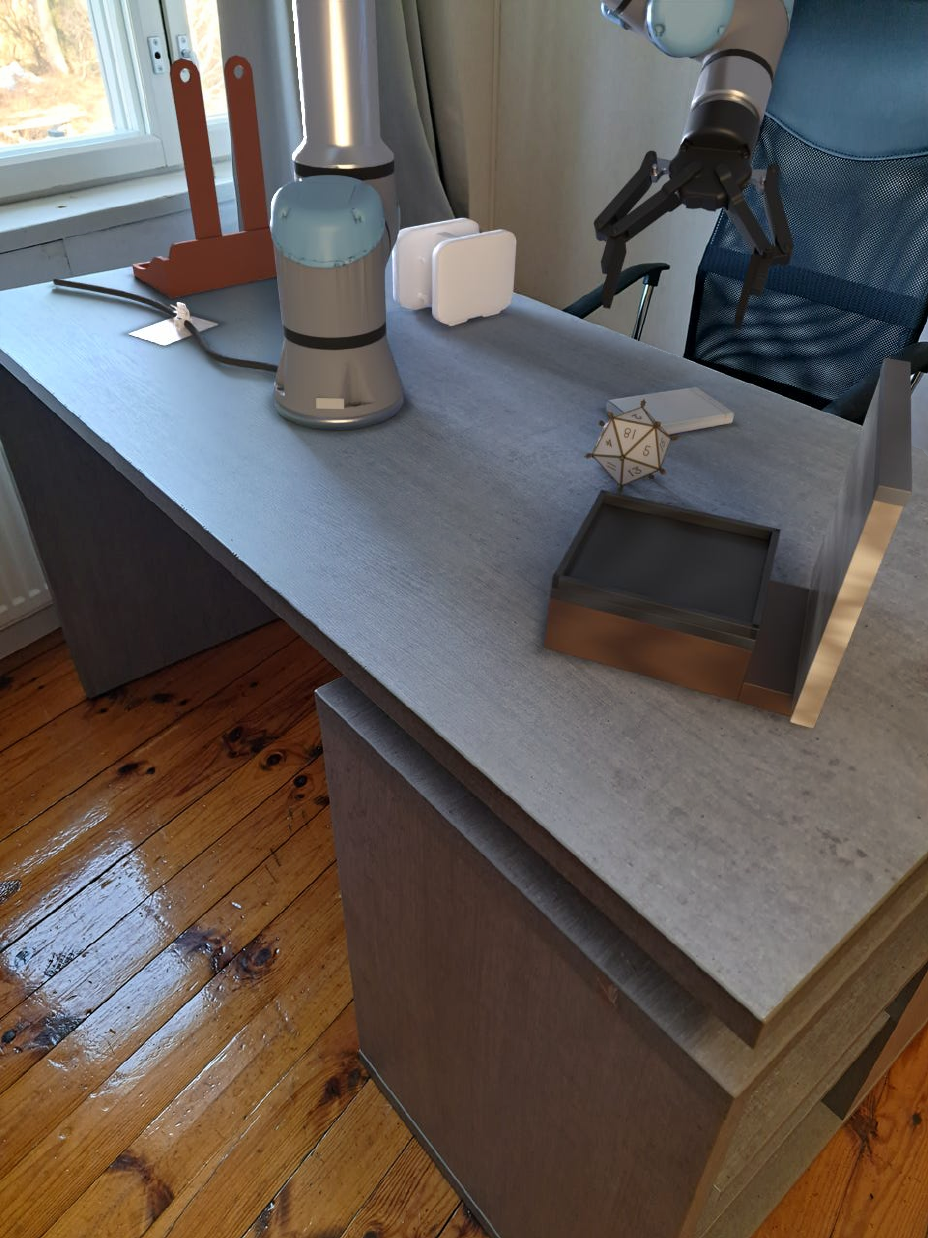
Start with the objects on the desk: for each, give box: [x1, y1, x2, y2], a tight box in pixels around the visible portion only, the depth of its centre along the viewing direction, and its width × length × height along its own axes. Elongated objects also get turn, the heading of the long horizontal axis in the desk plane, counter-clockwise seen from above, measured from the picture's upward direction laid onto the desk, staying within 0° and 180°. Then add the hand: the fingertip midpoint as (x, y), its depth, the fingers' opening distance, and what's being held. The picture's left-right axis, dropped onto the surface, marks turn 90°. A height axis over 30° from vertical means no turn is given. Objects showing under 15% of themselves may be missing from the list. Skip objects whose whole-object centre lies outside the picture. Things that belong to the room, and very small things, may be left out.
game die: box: [583, 399, 680, 494], centre depth 87 cm, size 9×8×10 cm
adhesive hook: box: [169, 302, 193, 331], centre depth 119 cm, size 3×3×3 cm
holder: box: [543, 357, 913, 729], centre depth 64 cm, size 20×20×21 cm
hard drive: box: [605, 386, 735, 436], centre depth 101 cm, size 2×8×12 cm
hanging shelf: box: [131, 54, 277, 299], centre depth 130 cm, size 24×13×30 cm, turn 130°
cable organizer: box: [391, 217, 517, 327], centre depth 125 cm, size 15×11×12 cm
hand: (670, 312), depth 88 cm, fingers open, 13 cm apart
